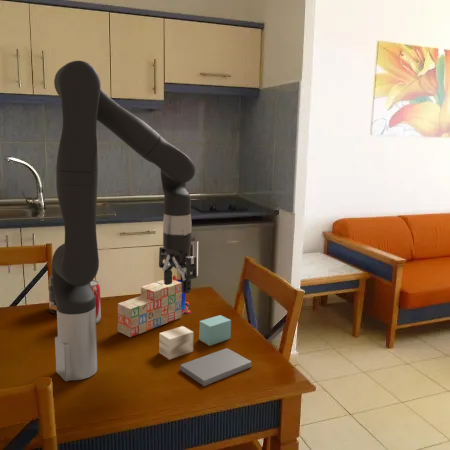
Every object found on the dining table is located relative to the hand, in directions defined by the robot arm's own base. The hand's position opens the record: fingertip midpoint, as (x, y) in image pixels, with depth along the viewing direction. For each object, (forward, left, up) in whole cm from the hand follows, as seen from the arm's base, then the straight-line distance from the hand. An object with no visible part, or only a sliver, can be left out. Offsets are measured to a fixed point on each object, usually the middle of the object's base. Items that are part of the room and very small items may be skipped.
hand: (176, 288), depth 130 cm
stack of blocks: (+4, +20, -19) cm, 28 cm away
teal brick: (+14, 0, -19) cm, 23 cm away
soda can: (-10, +34, -19) cm, 40 cm away
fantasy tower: (+18, +27, -19) cm, 38 cm away
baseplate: (+3, -14, -19) cm, 24 cm away
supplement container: (-12, +48, -19) cm, 53 cm away
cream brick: (0, 0, -19) cm, 19 cm away
